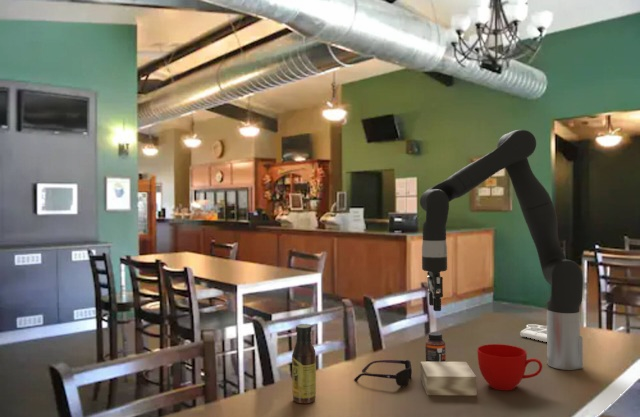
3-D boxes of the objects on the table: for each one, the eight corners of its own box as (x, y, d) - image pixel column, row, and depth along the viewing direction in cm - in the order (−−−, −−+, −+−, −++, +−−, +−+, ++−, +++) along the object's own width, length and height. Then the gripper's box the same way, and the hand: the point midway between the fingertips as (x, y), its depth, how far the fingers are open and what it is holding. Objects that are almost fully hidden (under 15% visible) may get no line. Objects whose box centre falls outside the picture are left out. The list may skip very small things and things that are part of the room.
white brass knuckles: (513, 336, 199) (537, 331, 207) (556, 347, 184) (580, 340, 192) (513, 327, 199) (537, 322, 207) (556, 337, 184) (580, 331, 192)
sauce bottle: (292, 396, 140) (290, 322, 140) (315, 395, 140) (314, 321, 140) (292, 405, 133) (291, 328, 133) (317, 404, 134) (316, 327, 134)
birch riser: (466, 378, 151) (465, 361, 151) (476, 395, 138) (476, 376, 138) (420, 378, 152) (420, 361, 152) (427, 395, 139) (426, 376, 139)
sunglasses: (406, 391, 143) (405, 372, 143) (351, 385, 149) (350, 367, 149) (414, 375, 156) (414, 358, 156) (363, 370, 162) (363, 354, 162)
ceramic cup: (538, 401, 134) (537, 362, 134) (472, 389, 143) (471, 353, 143) (546, 385, 145) (545, 349, 145) (484, 375, 154) (484, 341, 154)
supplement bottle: (446, 374, 156) (445, 336, 156) (425, 373, 157) (425, 335, 157) (445, 367, 162) (444, 331, 162) (425, 367, 163) (425, 330, 163)
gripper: (451, 257, 152) (451, 313, 152) (442, 252, 166) (443, 303, 166) (425, 257, 152) (425, 313, 152) (419, 252, 166) (419, 303, 166)
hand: (434, 308), depth 159 cm, fingers open, 8 cm apart
